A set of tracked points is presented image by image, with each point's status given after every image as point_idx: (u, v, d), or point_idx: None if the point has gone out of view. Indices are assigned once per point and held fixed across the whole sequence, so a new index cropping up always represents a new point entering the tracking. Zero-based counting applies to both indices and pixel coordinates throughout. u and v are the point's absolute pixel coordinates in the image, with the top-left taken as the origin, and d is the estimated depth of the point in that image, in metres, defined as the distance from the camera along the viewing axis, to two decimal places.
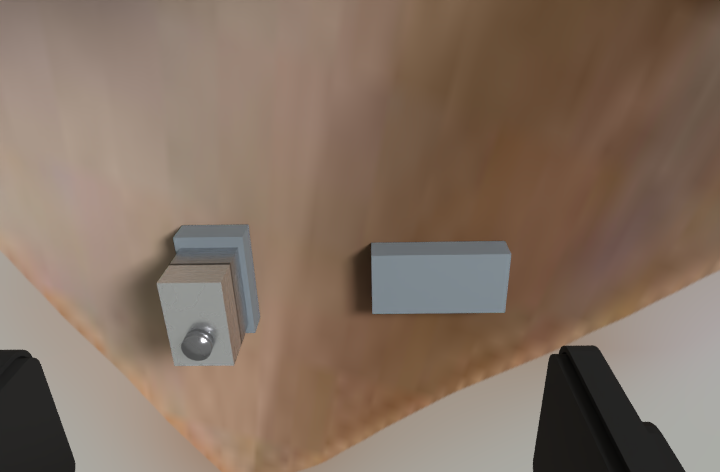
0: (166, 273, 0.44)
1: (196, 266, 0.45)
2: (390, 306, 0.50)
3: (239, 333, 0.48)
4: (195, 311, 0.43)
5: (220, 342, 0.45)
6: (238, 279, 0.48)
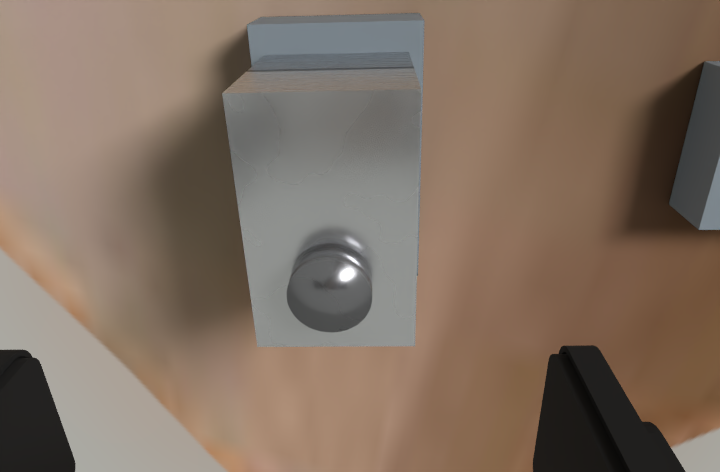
0: (245, 81, 0.15)
1: (322, 71, 0.16)
2: None
3: None
4: (330, 187, 0.15)
5: (388, 282, 0.16)
6: None
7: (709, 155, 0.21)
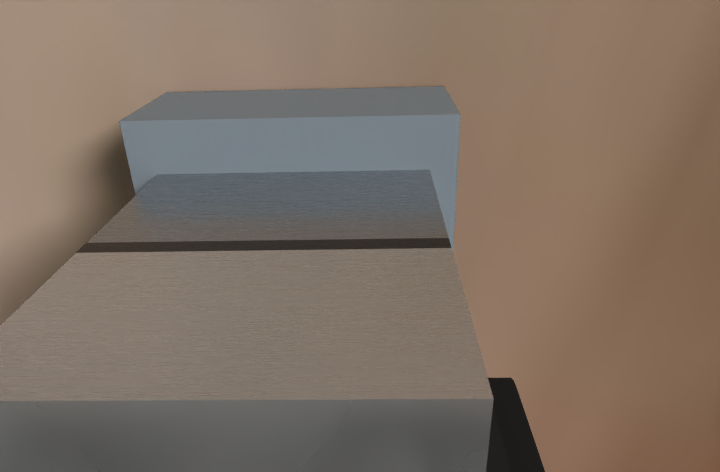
0: (42, 307, 0.06)
1: (244, 258, 0.07)
2: None
3: None
4: None
5: None
6: None
7: None
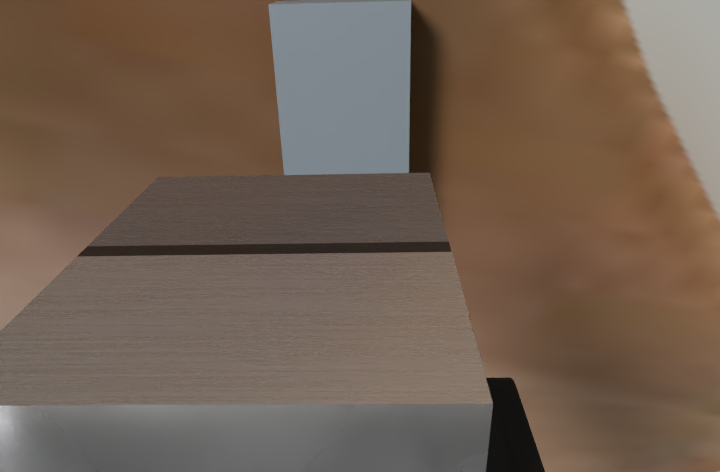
0: (44, 310, 0.06)
1: (245, 261, 0.07)
2: None
3: None
4: None
5: None
6: None
7: None
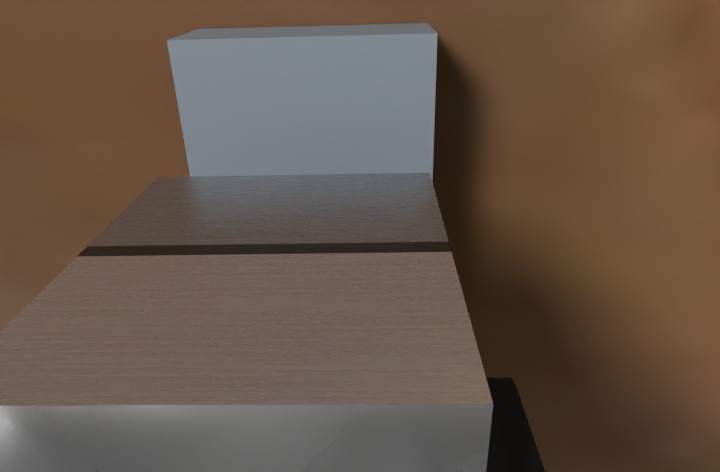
0: (44, 311, 0.06)
1: (244, 261, 0.07)
2: None
3: None
4: None
5: None
6: None
7: None
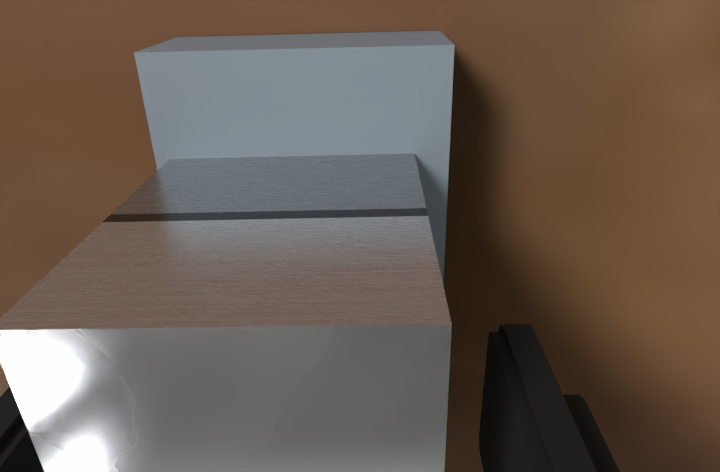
0: (78, 263, 0.07)
1: (248, 224, 0.08)
2: None
3: None
4: None
5: None
6: None
7: None
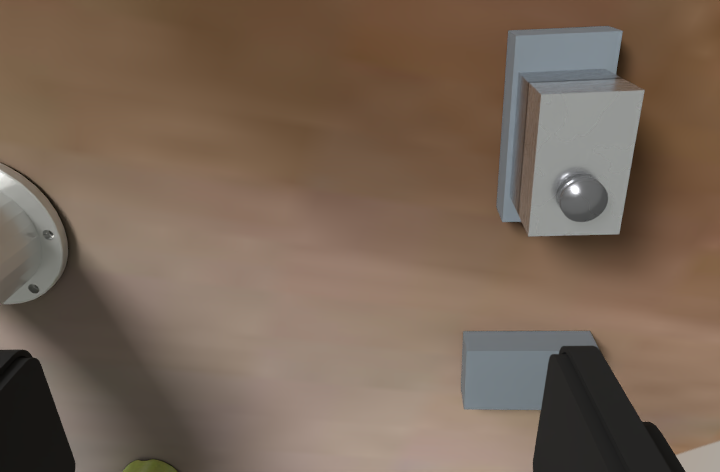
0: (539, 87, 0.29)
1: (573, 81, 0.30)
2: None
3: None
4: (588, 142, 0.29)
5: (610, 196, 0.30)
6: None
7: None
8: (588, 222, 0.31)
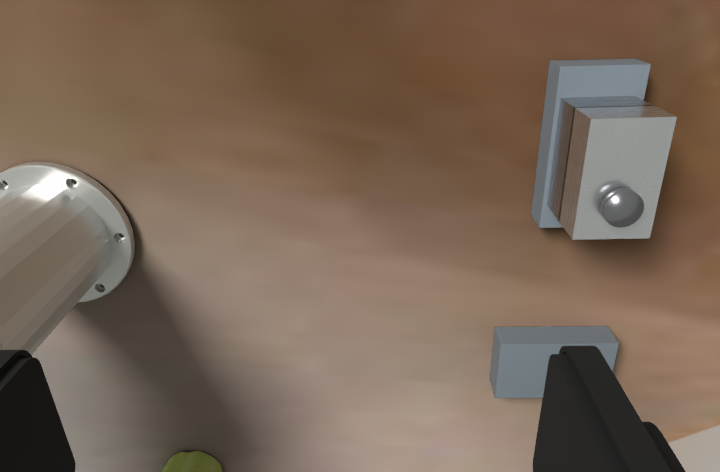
0: (586, 112, 0.34)
1: (613, 107, 0.35)
2: None
3: None
4: (627, 159, 0.34)
5: (644, 205, 0.35)
6: None
7: None
8: (624, 228, 0.36)
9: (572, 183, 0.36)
